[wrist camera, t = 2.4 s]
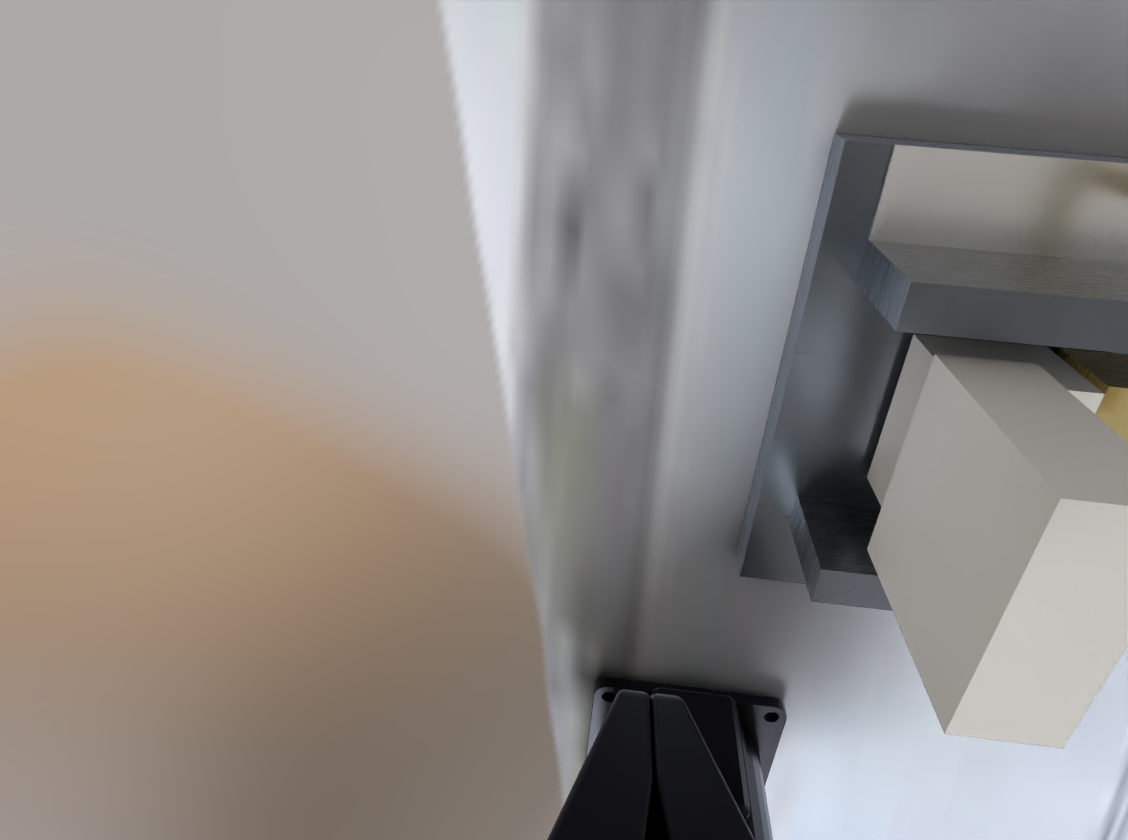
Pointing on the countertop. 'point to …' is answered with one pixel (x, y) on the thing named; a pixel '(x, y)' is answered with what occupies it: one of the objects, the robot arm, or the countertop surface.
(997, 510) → the off-white rectangular block
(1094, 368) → the tan block
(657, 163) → the countertop surface
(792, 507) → the bench
